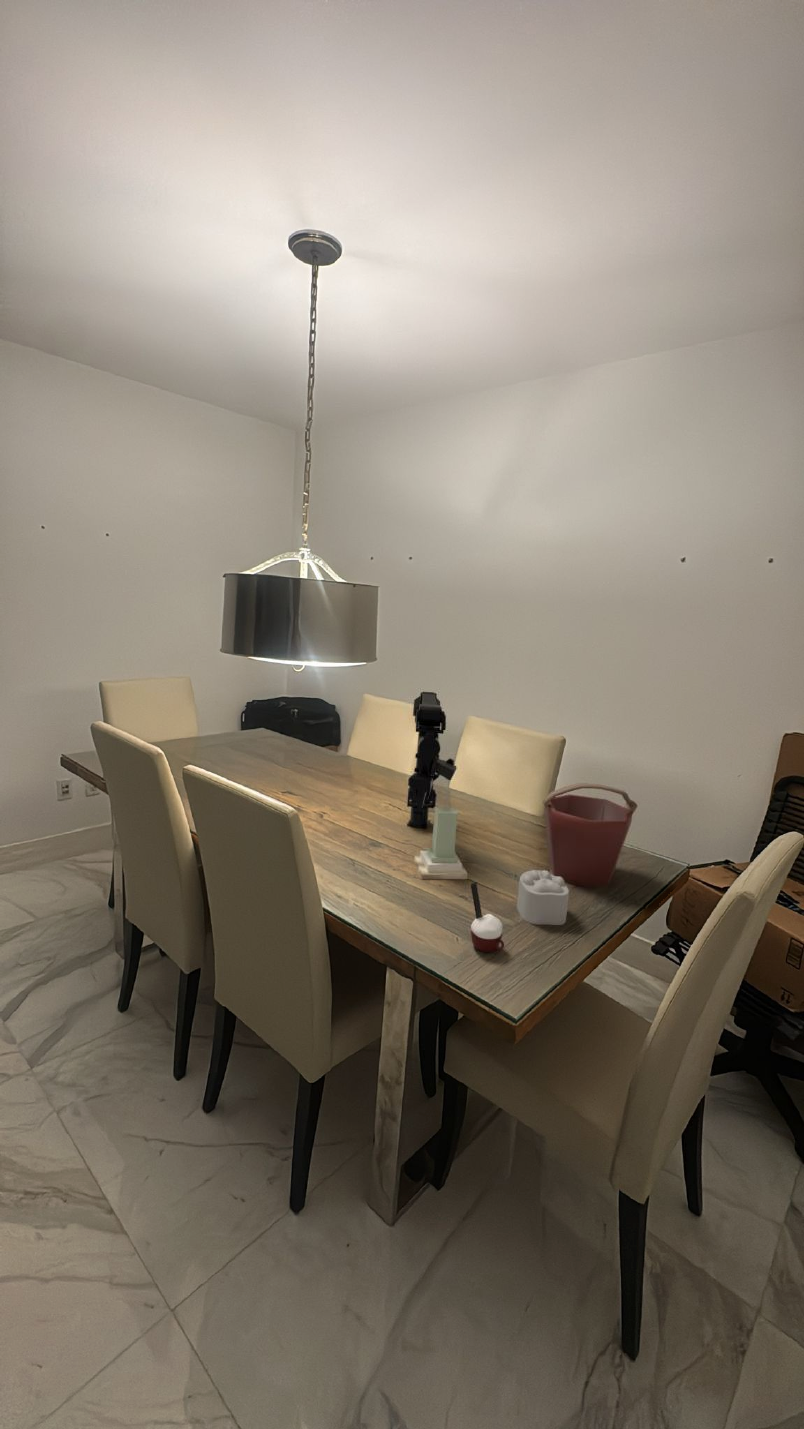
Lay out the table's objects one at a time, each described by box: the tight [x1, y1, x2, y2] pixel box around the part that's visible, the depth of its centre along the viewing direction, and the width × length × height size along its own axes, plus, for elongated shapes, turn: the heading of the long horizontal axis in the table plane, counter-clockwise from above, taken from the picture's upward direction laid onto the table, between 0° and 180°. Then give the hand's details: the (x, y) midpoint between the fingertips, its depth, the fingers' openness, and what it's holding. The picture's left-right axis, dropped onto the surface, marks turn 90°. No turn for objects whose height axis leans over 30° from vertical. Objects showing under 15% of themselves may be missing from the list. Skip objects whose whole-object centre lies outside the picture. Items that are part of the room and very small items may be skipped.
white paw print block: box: [516, 869, 570, 926], centre depth 141 cm, size 10×13×9 cm
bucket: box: [542, 782, 638, 888], centre depth 161 cm, size 24×22×25 cm
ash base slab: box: [413, 854, 469, 880], centre depth 160 cm, size 12×12×2 cm
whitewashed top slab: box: [419, 850, 463, 872], centre depth 160 cm, size 9×9×2 cm
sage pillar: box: [426, 806, 459, 863], centre depth 159 cm, size 7×7×13 cm
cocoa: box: [470, 881, 505, 953], centre depth 123 cm, size 10×6×12 cm, turn 18°
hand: (423, 803), depth 172 cm, fingers open, 9 cm apart
